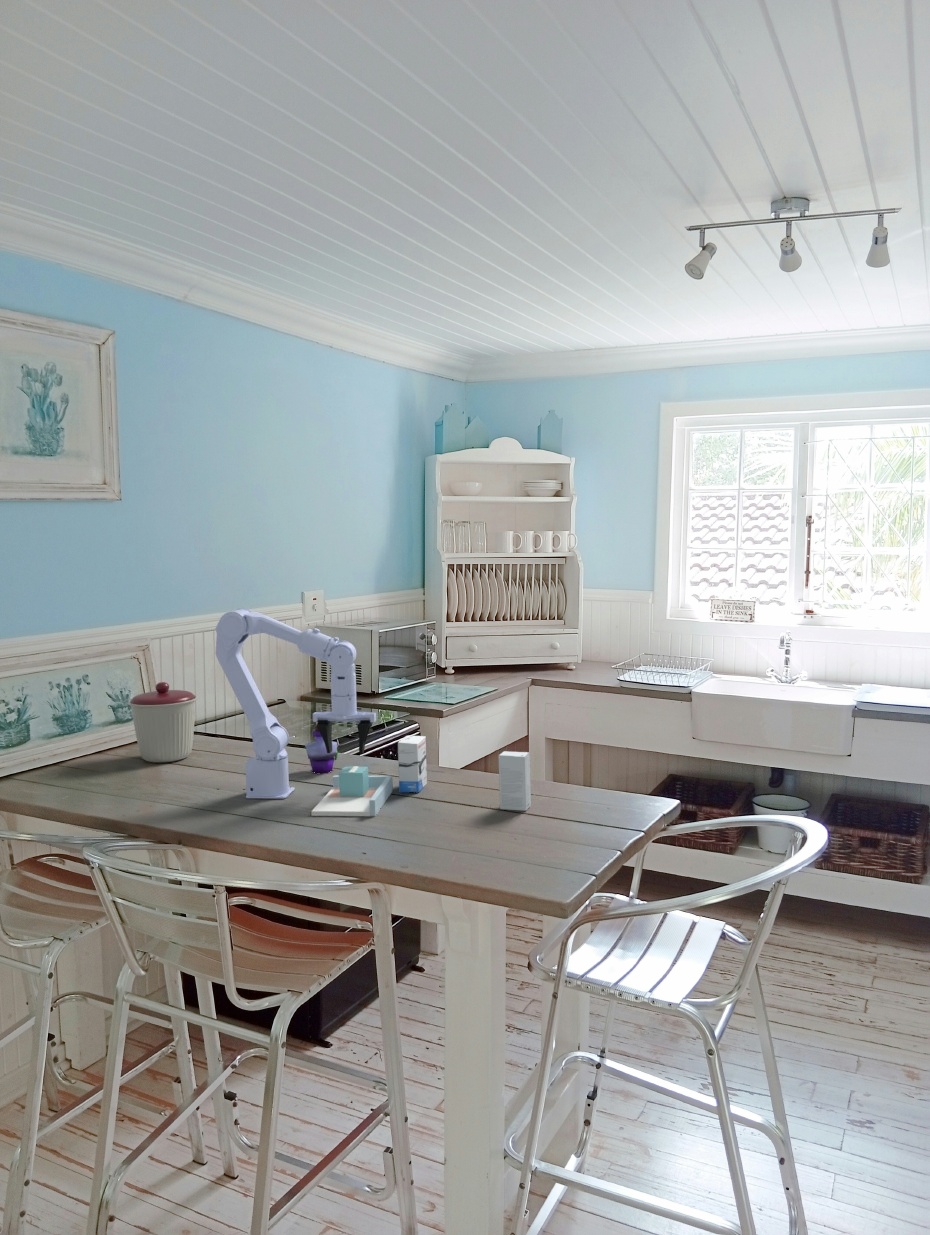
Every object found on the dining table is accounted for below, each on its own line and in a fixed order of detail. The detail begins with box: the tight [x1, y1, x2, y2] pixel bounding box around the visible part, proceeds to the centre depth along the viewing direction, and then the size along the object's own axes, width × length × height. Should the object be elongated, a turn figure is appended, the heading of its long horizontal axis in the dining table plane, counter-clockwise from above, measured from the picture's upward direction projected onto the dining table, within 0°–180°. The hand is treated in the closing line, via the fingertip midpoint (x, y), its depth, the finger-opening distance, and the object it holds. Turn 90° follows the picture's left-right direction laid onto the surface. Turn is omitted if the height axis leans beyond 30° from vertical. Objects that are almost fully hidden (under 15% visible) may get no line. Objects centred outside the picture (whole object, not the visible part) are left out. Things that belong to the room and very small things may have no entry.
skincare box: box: [497, 750, 532, 812], centre depth 210 cm, size 6×4×12 cm
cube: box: [338, 765, 369, 797], centre depth 221 cm, size 6×6×6 cm
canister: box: [127, 681, 199, 764], centre depth 263 cm, size 18×18×21 cm
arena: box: [310, 774, 394, 817], centre depth 217 cm, size 14×20×4 cm
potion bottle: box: [305, 724, 339, 775], centre depth 245 cm, size 9×9×12 cm
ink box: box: [397, 734, 428, 794], centre depth 227 cm, size 8×5×12 cm, turn 168°
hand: (345, 752), depth 224 cm, fingers open, 7 cm apart
